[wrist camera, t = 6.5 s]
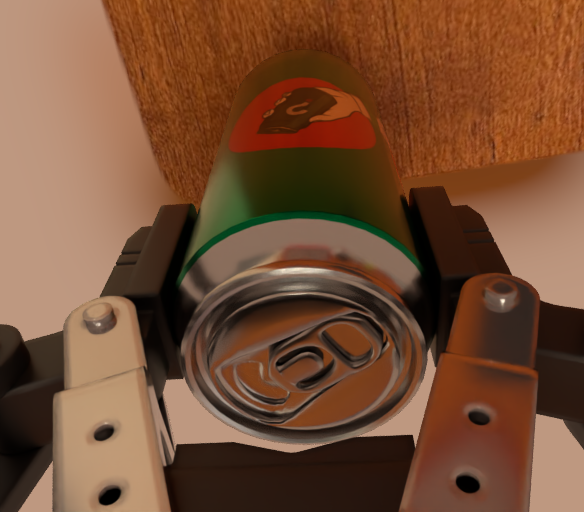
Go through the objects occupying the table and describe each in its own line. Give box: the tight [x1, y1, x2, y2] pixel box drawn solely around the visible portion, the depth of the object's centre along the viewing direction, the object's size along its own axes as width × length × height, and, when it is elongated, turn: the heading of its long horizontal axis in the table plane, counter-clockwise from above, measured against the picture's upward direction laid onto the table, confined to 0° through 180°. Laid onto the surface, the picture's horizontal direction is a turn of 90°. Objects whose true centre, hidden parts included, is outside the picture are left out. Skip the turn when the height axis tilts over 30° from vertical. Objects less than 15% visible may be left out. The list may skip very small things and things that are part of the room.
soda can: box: [170, 49, 437, 445], centre depth 15 cm, size 5×5×12 cm
